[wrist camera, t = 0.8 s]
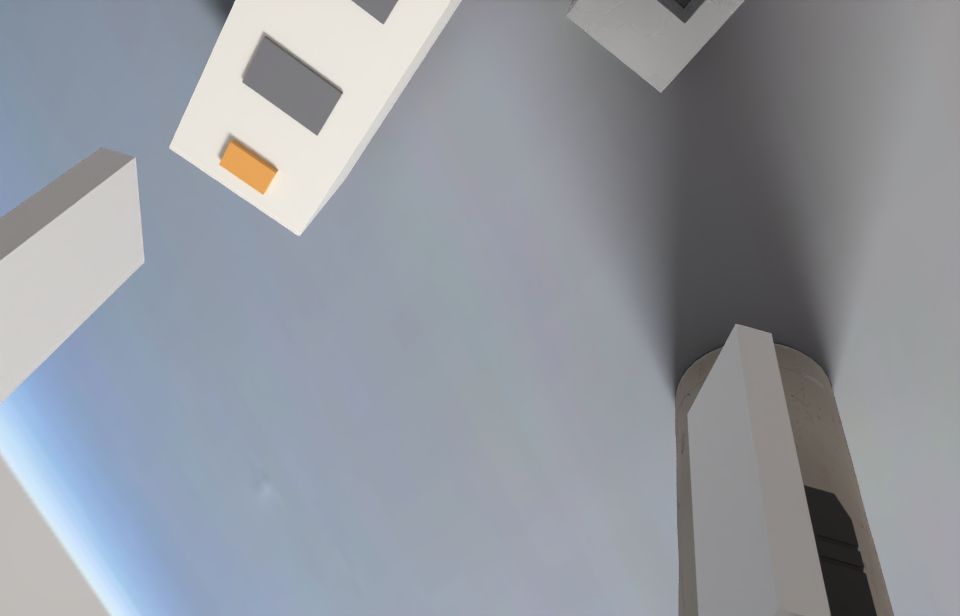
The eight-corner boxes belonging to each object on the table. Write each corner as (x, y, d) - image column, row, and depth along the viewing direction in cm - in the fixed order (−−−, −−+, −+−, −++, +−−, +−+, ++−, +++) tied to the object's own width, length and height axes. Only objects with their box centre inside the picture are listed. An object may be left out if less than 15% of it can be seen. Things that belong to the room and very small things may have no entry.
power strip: (358, 162, 37) (296, 239, 31) (252, 86, 36) (165, 150, 29) (563, -150, 28) (533, -130, 22) (429, -267, 26) (358, -280, 20)
